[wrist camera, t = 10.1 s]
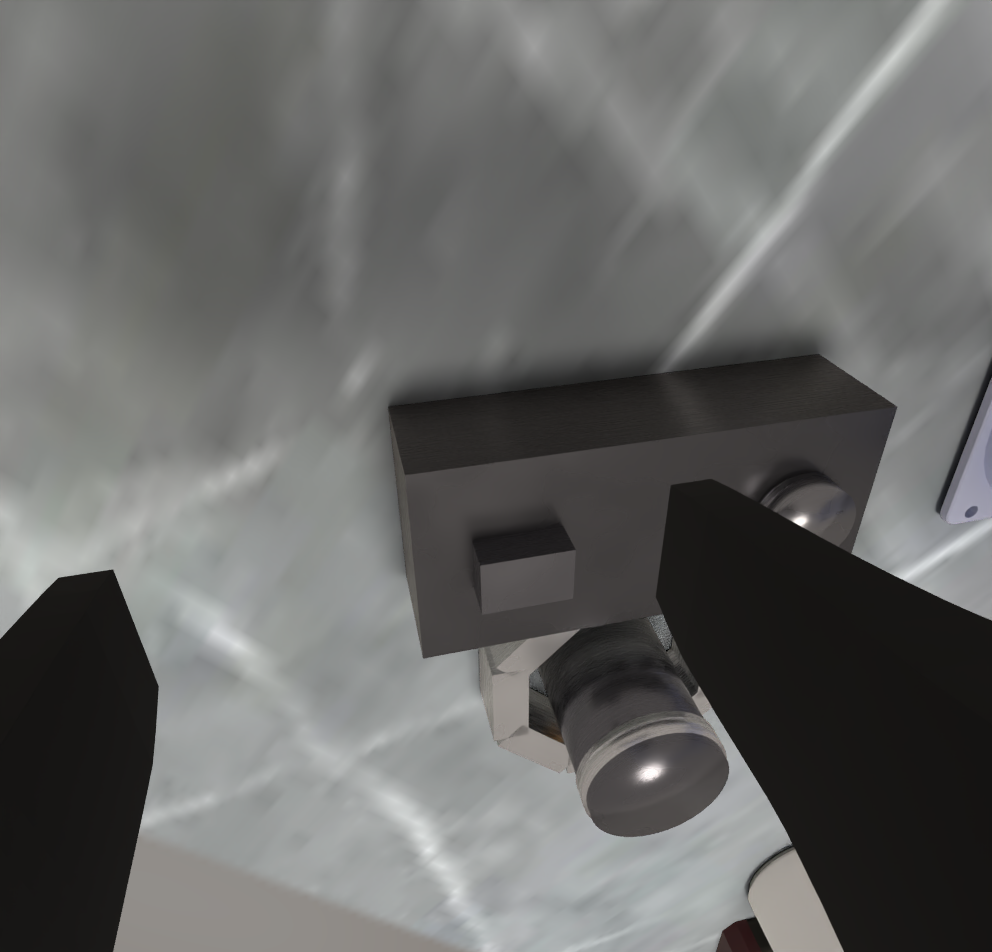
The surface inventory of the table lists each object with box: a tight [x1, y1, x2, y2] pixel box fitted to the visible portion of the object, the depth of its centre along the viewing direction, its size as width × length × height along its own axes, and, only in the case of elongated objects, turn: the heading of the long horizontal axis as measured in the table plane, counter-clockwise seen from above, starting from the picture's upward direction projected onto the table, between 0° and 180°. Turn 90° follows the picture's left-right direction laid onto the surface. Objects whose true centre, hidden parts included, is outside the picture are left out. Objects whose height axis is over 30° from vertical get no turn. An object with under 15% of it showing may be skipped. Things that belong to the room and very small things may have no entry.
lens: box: [538, 617, 729, 837], centre depth 25 cm, size 5×5×6 cm
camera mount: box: [388, 354, 897, 773], centre depth 23 cm, size 13×15×4 cm
